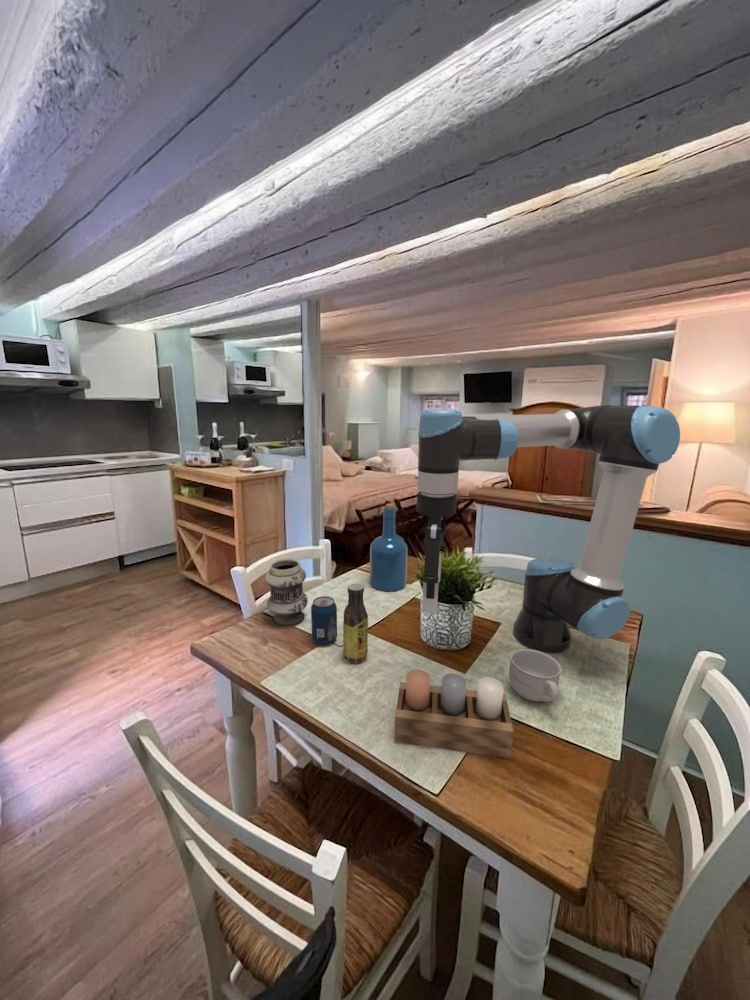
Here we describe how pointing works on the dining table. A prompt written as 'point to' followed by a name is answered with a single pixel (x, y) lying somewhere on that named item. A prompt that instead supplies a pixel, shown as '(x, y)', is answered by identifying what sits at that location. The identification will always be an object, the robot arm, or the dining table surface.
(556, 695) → the teacup
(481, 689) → the white egg
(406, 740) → the wooden compartment box
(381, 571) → the wine bottle
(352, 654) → the sauce bottle
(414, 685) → the peach egg
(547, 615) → the robot arm
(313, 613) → the soda can
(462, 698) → the grey rounded cylinder
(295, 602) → the apothecary jar
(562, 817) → the dining table surface
